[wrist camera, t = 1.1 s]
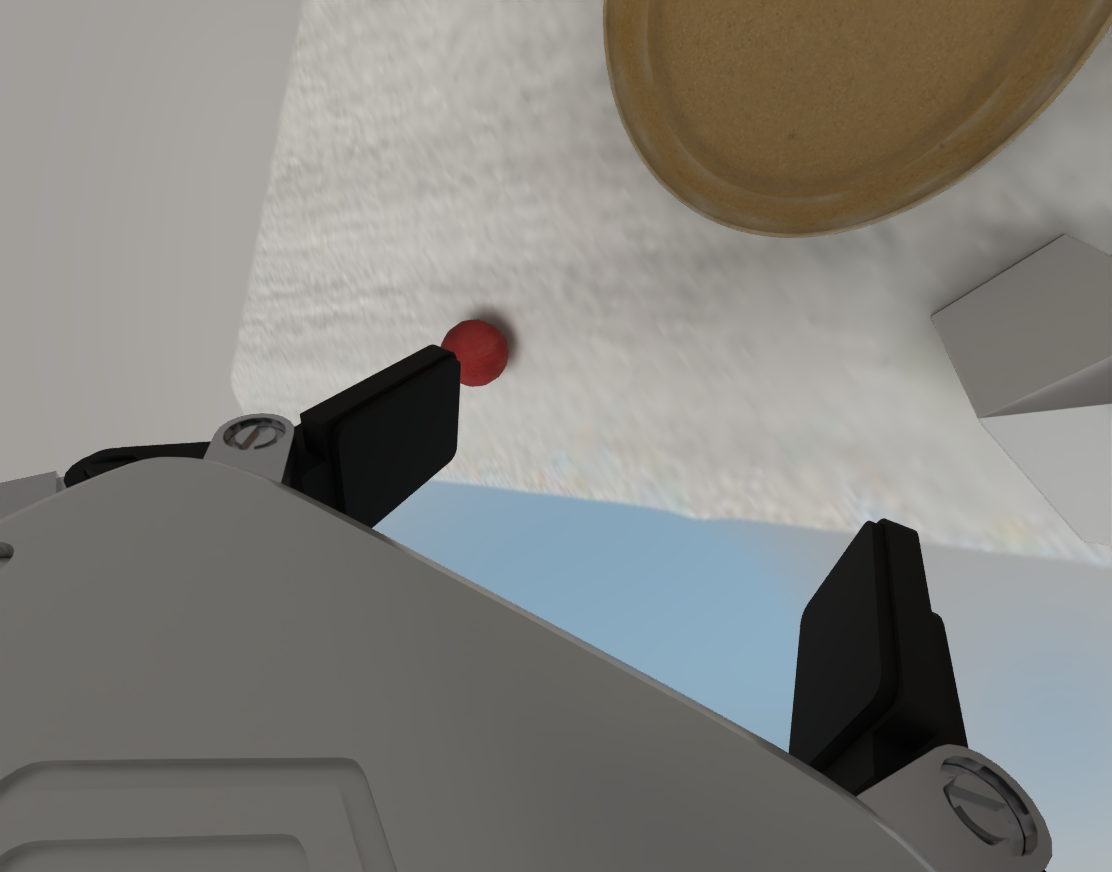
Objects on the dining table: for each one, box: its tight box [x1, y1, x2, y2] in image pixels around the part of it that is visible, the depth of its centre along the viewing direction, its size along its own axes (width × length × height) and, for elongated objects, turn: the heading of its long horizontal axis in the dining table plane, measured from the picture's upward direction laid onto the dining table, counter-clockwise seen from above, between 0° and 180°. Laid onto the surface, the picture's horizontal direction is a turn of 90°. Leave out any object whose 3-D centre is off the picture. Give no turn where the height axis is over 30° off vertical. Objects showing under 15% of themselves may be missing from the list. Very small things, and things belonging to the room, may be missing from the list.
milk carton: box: [931, 234, 1112, 546], centre depth 23 cm, size 7×7×19 cm
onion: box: [441, 319, 508, 387], centre depth 45 cm, size 6×6×8 cm
